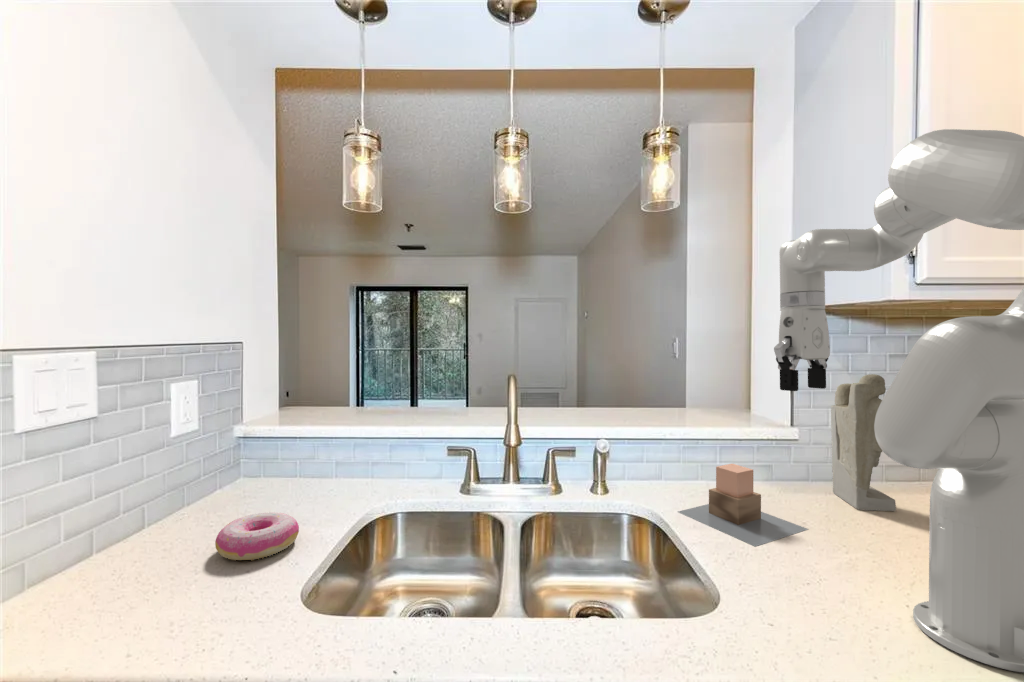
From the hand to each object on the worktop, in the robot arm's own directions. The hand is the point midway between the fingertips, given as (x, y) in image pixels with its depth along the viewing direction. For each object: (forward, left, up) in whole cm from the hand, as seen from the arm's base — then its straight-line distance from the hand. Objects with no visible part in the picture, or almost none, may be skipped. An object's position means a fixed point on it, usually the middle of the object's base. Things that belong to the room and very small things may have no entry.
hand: (803, 389), depth 90 cm
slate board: (+8, +9, -28) cm, 30 cm away
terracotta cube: (+10, +8, -22) cm, 25 cm away
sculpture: (+3, -27, -28) cm, 40 cm away
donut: (+41, +96, -29) cm, 108 cm away
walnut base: (+10, +8, -27) cm, 30 cm away
